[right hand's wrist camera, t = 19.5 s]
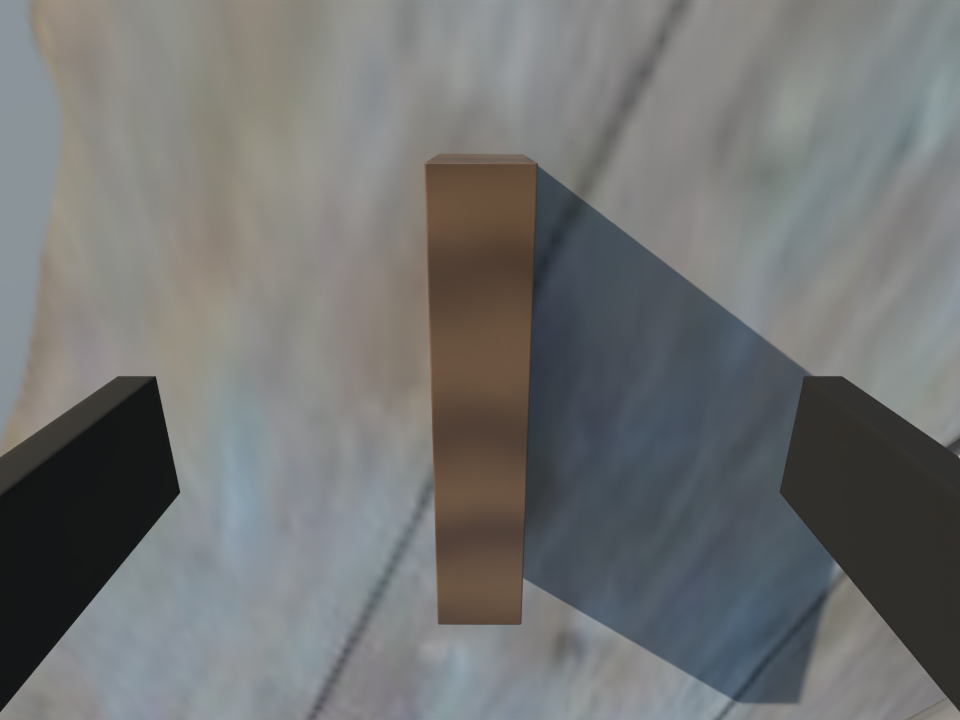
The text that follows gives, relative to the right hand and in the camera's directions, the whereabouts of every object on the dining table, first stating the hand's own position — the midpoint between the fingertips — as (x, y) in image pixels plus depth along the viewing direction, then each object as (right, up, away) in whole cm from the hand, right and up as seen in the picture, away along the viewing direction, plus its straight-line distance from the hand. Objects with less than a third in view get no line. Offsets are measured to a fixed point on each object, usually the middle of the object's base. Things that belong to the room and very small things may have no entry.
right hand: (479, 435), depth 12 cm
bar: (0, +1, +29) cm, 29 cm away
